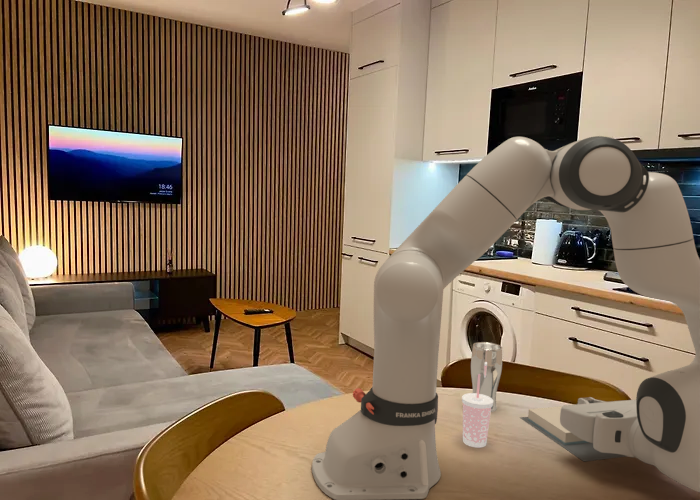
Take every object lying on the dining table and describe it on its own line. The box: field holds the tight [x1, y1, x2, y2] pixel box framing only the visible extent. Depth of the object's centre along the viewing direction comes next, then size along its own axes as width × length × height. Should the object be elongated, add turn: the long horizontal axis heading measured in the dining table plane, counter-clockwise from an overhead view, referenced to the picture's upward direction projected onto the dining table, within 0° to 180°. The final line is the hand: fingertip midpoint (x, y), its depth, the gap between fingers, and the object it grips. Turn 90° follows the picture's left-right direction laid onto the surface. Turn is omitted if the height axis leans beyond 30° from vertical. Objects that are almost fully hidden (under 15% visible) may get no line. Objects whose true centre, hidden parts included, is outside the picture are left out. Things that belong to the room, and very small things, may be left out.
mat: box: [519, 416, 627, 463], centre depth 108 cm, size 12×20×1 cm, turn 17°
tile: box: [527, 405, 588, 445], centre depth 110 cm, size 10×2×12 cm
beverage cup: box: [461, 374, 493, 448], centre depth 103 cm, size 6×6×14 cm
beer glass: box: [470, 341, 503, 413], centre depth 120 cm, size 7×7×15 cm
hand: (583, 401), depth 105 cm, fingers closed
